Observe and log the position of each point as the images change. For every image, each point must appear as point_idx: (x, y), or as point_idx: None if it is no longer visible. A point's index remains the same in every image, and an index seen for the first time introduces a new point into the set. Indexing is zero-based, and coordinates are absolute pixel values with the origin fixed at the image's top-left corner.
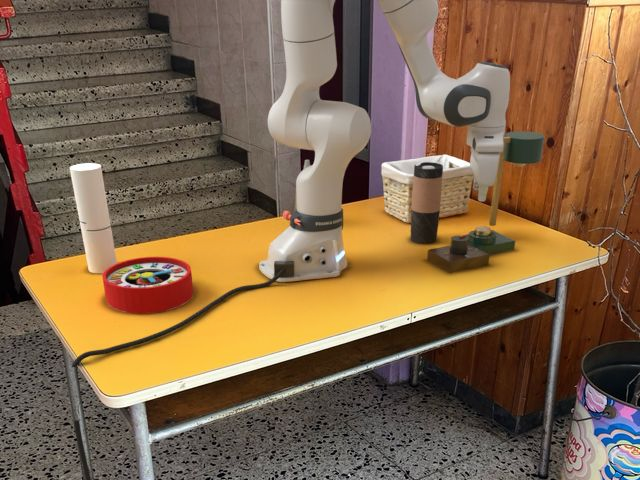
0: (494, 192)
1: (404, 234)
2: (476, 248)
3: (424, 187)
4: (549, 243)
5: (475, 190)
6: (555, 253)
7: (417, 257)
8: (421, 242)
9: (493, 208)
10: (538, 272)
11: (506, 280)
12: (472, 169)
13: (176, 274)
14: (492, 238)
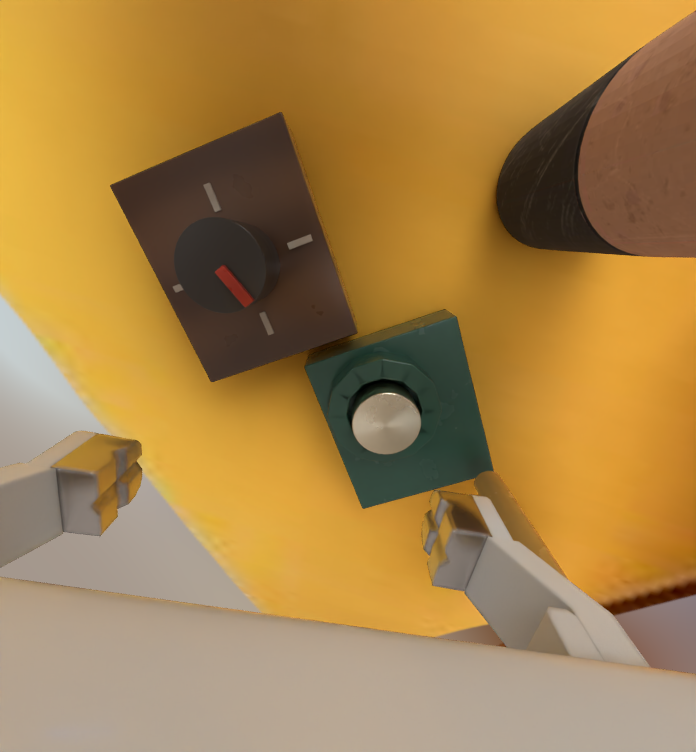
0: None
1: None
2: (279, 352)
3: None
4: (404, 587)
5: (432, 495)
6: (321, 575)
7: (341, 92)
8: (507, 158)
9: (508, 529)
10: (168, 490)
11: (92, 383)
12: (534, 686)
13: None
14: (335, 436)
